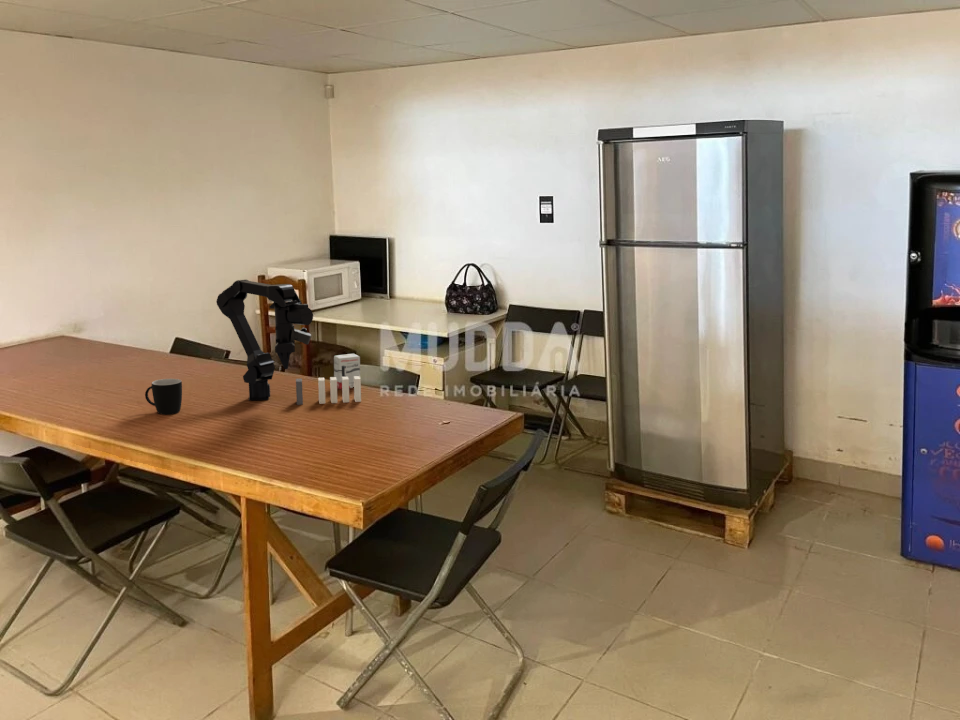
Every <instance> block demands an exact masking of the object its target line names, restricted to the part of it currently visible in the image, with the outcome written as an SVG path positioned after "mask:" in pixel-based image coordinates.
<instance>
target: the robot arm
mask: <svg viewBox="0 0 960 720" xmlns="http://www.w3.org/2000/svg"><path fill="white" fill-rule="evenodd" d="M248 294H250V295H256V296H260V297H265V298H267V299H268V300H269V301H271V302H272V303H271V304H270V306H269V309H272V310H274V327H275V328H274V329H275V345H274V353H275V354H276V355H277V356H278V358H279V361H280V362H281V365H282V367H283V369H284V370H288V369H289V365H290V364H289V363H290V356H291V354H292V353H295V352H296V347H295V346H296V345H295V341H296V342H299V343H302V344H304V345H309V344H310V340H311V337H312V334H311V333H310V332H308V330H307V328H306V327H302V328H300V329H297V328H295V325H299V326H309V325H311V324H312V322H313V319H314V314H313V311H312V309H311V308H310V307H309V303H303V302H302V301H301V298H300V297H299V296H298V294H297V292H296V291H295V289H294V286H293V285H292V284H290V283H282V284H269V283H264V282H258V281H253V280H252V281H251V280H248V279H237V280H235V281H234V282H233V283H232V284H231V285H230V286H228V287H227V288H225V289H224V290H223V291H222V292H221V293H219V294H218V296H217V298H216V305H217V307H218V310H220V311H221V313H222V315H224V316H225V317H227V318H228V319H229V320H230V322H231V324H232V327H233V328H234V330H235V332H236V335H237V337H238V339H239V341H240V343H241V345H242V347H243V349H244V351H245V354H246V356H247V358H246V367H247V370H246V371H245V373H244V374H243V375H242V379H243V382H244V384H245V383H246V384H248V392H249V393H248V401H267V400H268V401H269V398H271V385H270V383H269V381H270V380H272V379H273V376H274V373H275V369H276V368H275V361H274V360H273V357H272V354H271V353H270V352H264V351H263V350H262V348H261V347H260V345H259V343H258V341H257V338H256V336H255V334H254V332H253V329H252V327H251V325H250V324H249V321H248V319H247V318H246V315H245V307H246V306H245V305H246V304H245V302H244V301H245V299H247V297H248Z"/></svg>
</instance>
